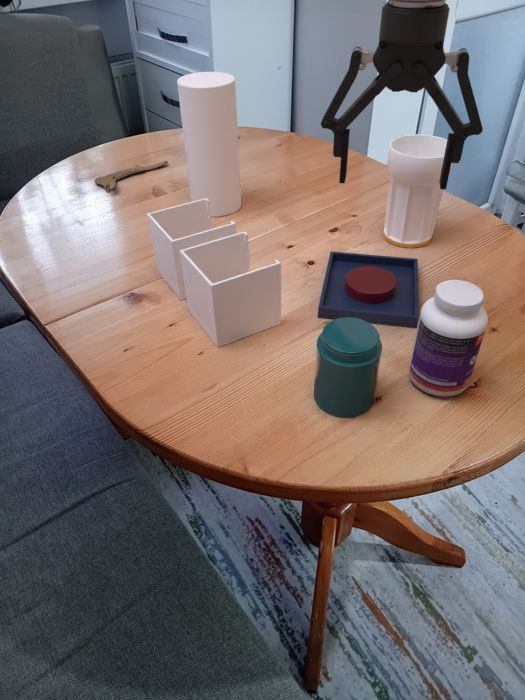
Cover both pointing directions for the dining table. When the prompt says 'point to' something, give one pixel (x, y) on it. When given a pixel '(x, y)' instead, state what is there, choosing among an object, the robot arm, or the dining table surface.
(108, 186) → the tan bone
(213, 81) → the tall pillar cylinder
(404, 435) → the dining table surface
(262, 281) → the storage container
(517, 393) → the dining table surface
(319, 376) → the jar
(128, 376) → the dining table surface
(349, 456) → the dining table surface
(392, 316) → the tray
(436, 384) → the pill bottle
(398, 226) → the cup
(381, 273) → the lid
